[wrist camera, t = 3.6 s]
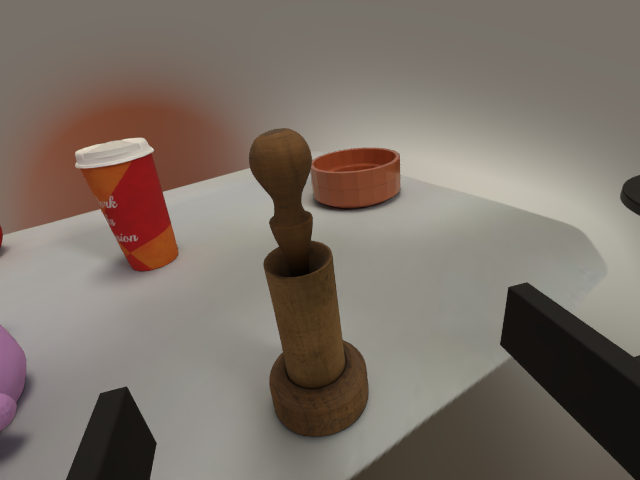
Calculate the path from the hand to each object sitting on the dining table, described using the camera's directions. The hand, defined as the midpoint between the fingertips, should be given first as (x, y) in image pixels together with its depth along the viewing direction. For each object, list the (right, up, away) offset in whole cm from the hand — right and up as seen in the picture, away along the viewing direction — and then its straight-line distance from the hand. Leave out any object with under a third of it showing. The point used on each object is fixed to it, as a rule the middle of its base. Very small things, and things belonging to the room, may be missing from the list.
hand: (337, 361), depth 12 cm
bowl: (+5, +12, +47) cm, 49 cm away
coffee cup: (-22, +1, +35) cm, 41 cm away
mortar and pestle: (0, -7, +13) cm, 14 cm away
